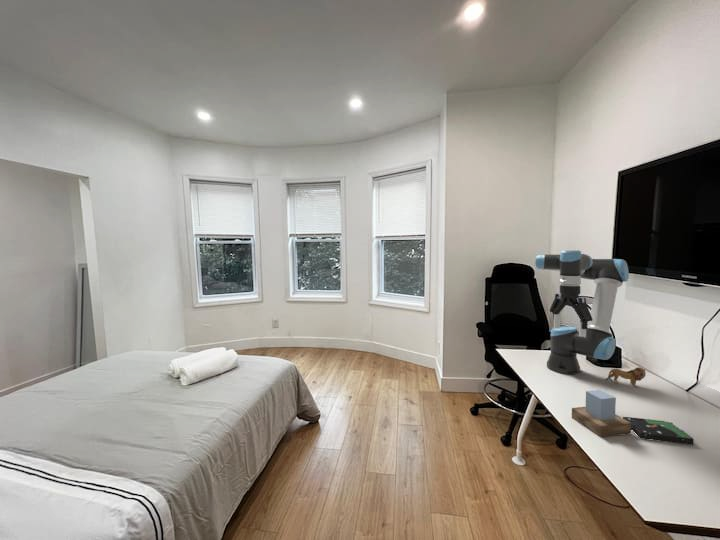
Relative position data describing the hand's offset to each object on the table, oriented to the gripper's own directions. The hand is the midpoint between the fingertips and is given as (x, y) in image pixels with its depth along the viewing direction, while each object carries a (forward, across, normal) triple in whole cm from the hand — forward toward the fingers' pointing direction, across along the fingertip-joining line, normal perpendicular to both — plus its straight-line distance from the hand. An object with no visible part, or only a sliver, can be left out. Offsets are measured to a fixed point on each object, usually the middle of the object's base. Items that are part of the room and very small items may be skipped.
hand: (569, 331), depth 129 cm
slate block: (+25, +23, -8) cm, 35 cm away
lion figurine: (+29, -4, +35) cm, 45 cm away
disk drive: (+29, +30, +7) cm, 42 cm away
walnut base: (+29, +23, -8) cm, 38 cm away
